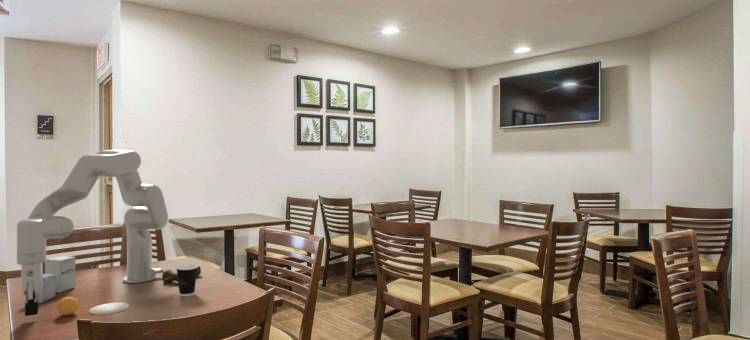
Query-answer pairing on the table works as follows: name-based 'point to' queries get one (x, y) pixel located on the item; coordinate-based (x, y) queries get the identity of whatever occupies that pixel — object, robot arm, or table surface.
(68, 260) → the supplement box
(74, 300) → the ball
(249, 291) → the table surface
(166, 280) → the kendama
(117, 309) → the disc
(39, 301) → the medicine box
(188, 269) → the dixie cup
